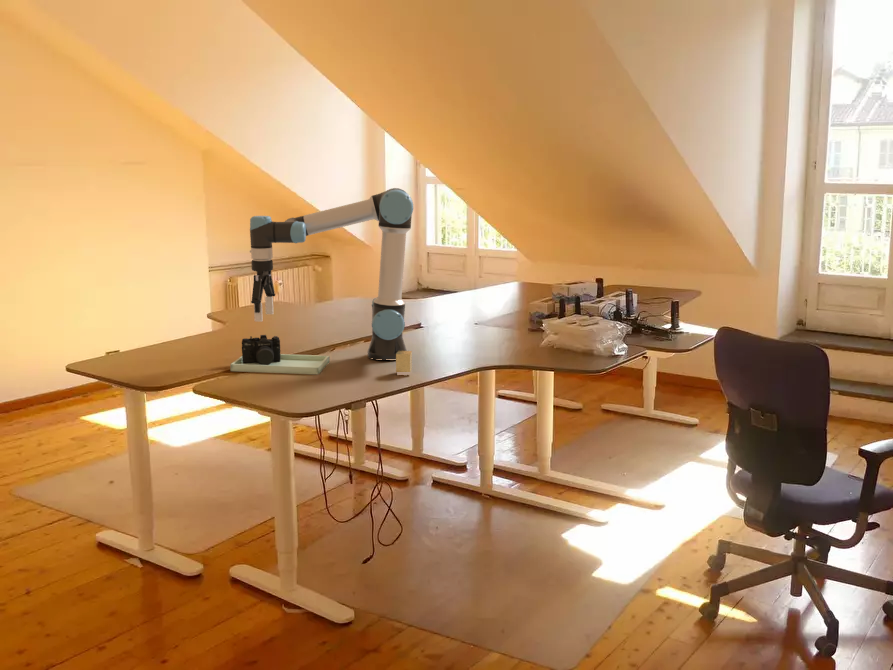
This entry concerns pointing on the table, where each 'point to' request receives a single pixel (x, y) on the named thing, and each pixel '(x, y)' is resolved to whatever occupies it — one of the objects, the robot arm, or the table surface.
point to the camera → (261, 350)
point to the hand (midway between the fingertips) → (264, 317)
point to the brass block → (404, 361)
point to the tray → (286, 365)
